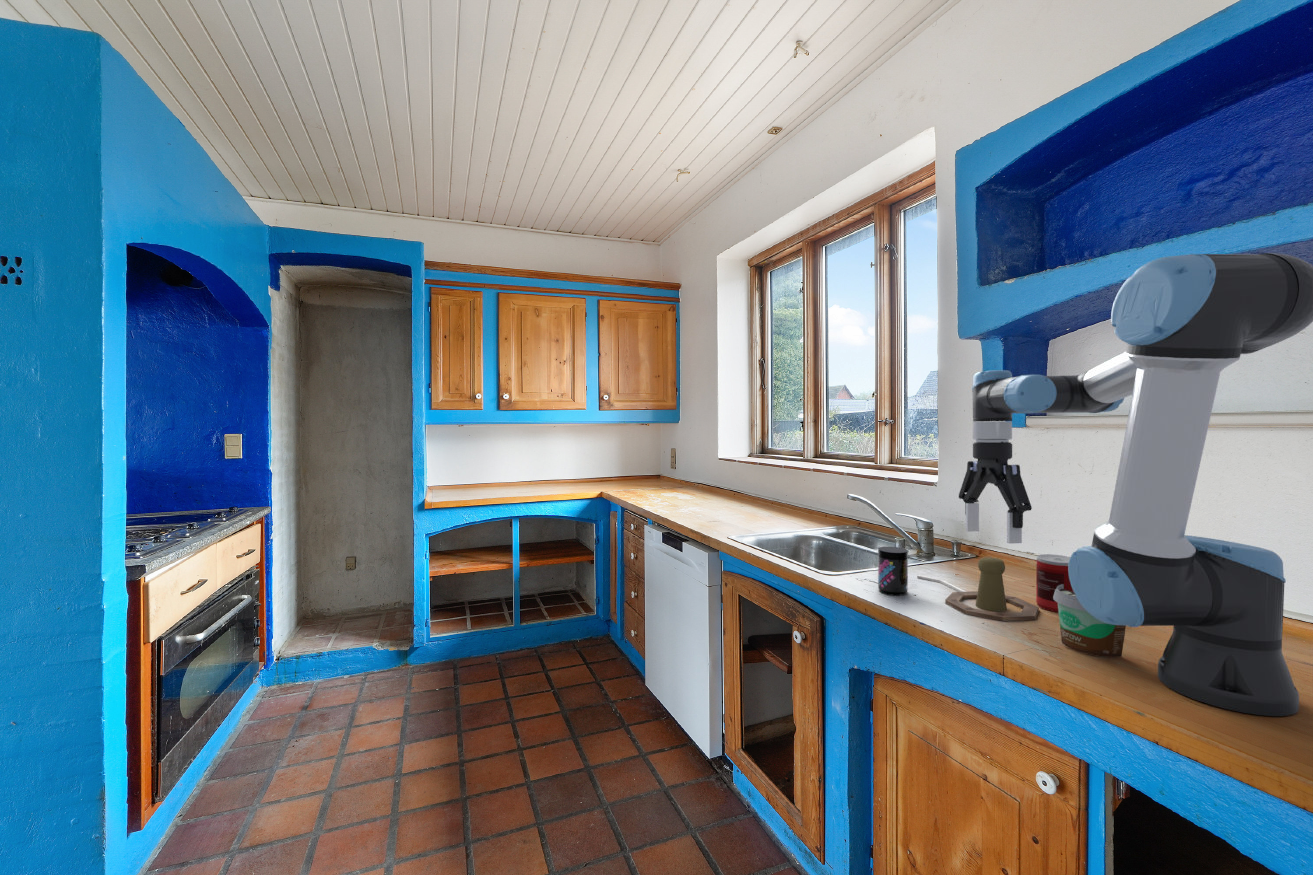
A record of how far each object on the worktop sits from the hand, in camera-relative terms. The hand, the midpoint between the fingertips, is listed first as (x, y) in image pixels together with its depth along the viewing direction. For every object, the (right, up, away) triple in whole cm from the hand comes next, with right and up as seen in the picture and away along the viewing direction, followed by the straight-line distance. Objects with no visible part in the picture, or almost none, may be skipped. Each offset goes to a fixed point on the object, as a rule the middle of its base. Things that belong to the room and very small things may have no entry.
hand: (992, 536), depth 124 cm
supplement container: (-17, -16, +12) cm, 26 cm away
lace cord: (-3, -15, +17) cm, 23 cm away
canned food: (+14, -16, 0) cm, 21 cm away
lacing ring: (0, -16, +1) cm, 16 cm away
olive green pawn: (0, -16, +1) cm, 16 cm away
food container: (+3, -17, -22) cm, 28 cm away
